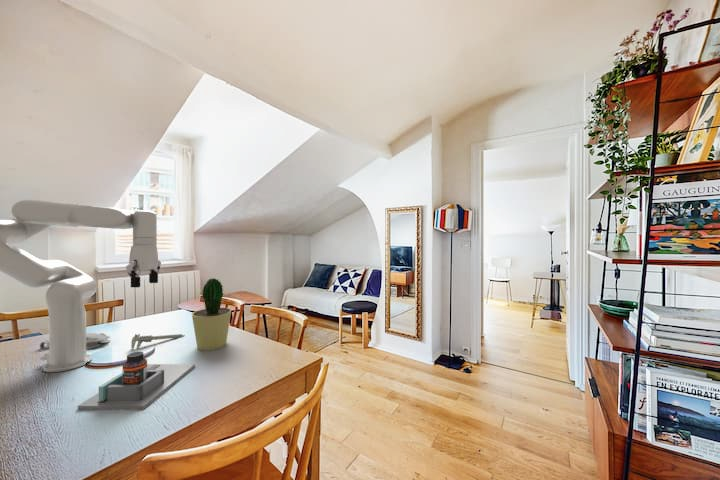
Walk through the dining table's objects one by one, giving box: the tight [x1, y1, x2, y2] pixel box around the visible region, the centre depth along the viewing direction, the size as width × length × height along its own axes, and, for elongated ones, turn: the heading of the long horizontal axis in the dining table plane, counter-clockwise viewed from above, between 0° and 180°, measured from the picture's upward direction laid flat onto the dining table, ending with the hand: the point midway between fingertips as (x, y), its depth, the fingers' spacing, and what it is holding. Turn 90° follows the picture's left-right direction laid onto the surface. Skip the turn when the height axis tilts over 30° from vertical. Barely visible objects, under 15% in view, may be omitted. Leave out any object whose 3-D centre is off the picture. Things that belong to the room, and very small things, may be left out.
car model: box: [39, 332, 111, 350], centre depth 124 cm, size 11×24×5 cm, turn 91°
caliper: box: [130, 333, 185, 349], centre depth 128 cm, size 20×1×6 cm, turn 144°
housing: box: [77, 363, 196, 410], centre depth 92 cm, size 18×26×5 cm
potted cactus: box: [191, 277, 232, 351], centre depth 125 cm, size 15×15×30 cm
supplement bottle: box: [121, 351, 148, 385], centre depth 86 cm, size 6×6×11 cm
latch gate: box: [98, 372, 122, 401], centre depth 87 cm, size 1×13×4 cm, turn 1°
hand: (144, 285), depth 113 cm, fingers open, 9 cm apart
